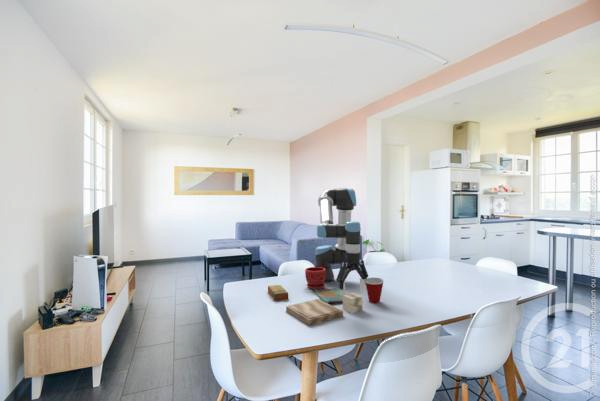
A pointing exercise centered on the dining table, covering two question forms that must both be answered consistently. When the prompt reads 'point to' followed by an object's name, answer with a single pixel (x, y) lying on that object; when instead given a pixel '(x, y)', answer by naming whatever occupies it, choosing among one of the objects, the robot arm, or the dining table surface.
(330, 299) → the teal book
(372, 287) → the plastic cup
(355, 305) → the cube
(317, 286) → the plant pot
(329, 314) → the board
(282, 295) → the carton
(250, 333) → the dining table surface
